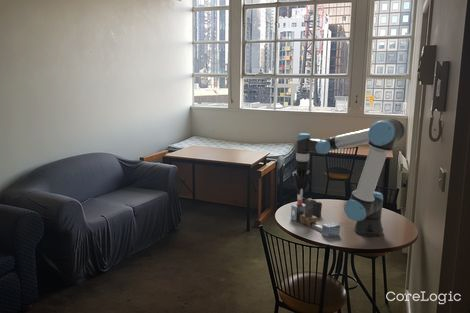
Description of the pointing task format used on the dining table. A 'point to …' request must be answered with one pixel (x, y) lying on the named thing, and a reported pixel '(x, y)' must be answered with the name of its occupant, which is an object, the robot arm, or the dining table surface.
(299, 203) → the plunger
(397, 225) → the dining table surface
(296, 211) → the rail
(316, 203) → the camera
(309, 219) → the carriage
